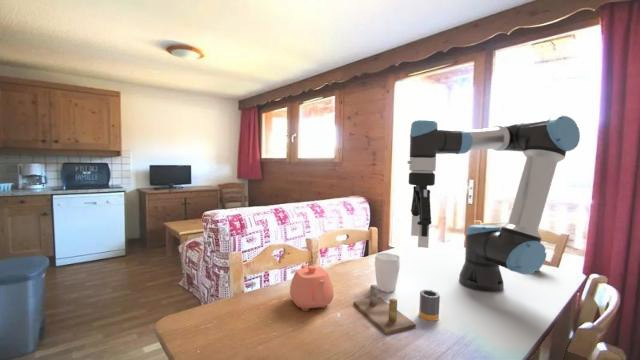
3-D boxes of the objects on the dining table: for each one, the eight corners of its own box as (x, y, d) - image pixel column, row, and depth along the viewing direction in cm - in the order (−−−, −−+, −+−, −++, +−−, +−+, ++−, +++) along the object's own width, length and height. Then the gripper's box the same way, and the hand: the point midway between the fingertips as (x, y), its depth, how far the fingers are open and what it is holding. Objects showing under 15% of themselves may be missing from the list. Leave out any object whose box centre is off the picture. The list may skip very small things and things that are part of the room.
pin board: (353, 304, 96) (353, 283, 96) (379, 299, 100) (380, 279, 100) (386, 334, 80) (387, 309, 79) (415, 327, 83) (416, 303, 83)
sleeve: (435, 312, 92) (436, 290, 92) (440, 321, 87) (441, 298, 87) (418, 311, 93) (419, 289, 92) (421, 319, 88) (422, 296, 87)
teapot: (301, 324, 84) (302, 282, 83) (284, 294, 102) (284, 259, 102) (344, 316, 89) (345, 276, 88) (320, 289, 107) (321, 256, 106)
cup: (399, 295, 104) (401, 261, 103) (373, 292, 106) (374, 259, 105) (398, 284, 113) (399, 253, 112) (374, 282, 114) (375, 251, 114)
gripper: (404, 170, 103) (401, 231, 104) (415, 173, 78) (412, 252, 80) (426, 171, 102) (424, 232, 103) (445, 173, 77) (441, 254, 79)
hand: (419, 241), depth 91 cm, fingers open, 13 cm apart
